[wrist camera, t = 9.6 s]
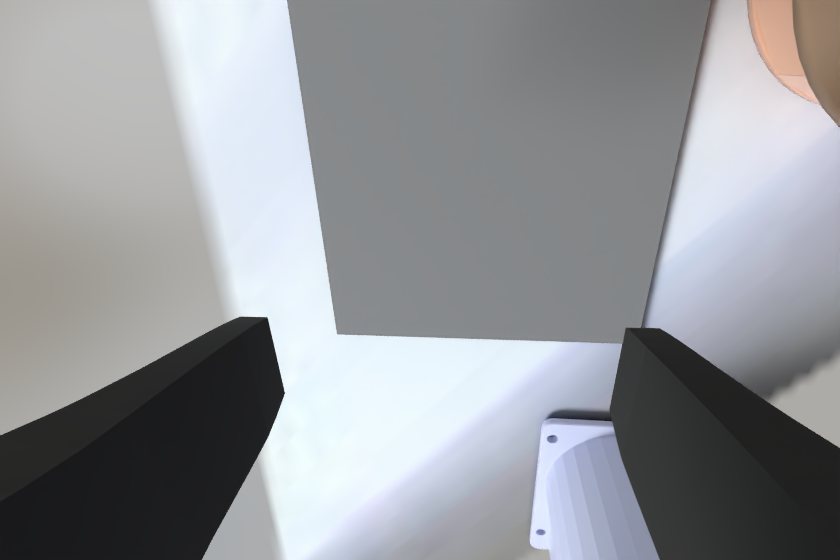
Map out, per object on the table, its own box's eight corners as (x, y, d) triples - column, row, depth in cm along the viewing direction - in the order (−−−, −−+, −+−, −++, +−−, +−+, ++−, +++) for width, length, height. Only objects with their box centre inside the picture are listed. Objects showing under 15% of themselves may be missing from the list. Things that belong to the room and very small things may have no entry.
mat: (634, 338, 19) (637, 344, 19) (339, 329, 21) (337, 334, 20) (711, -28, 13) (717, -30, 13) (291, -1, 15) (286, -2, 14)
